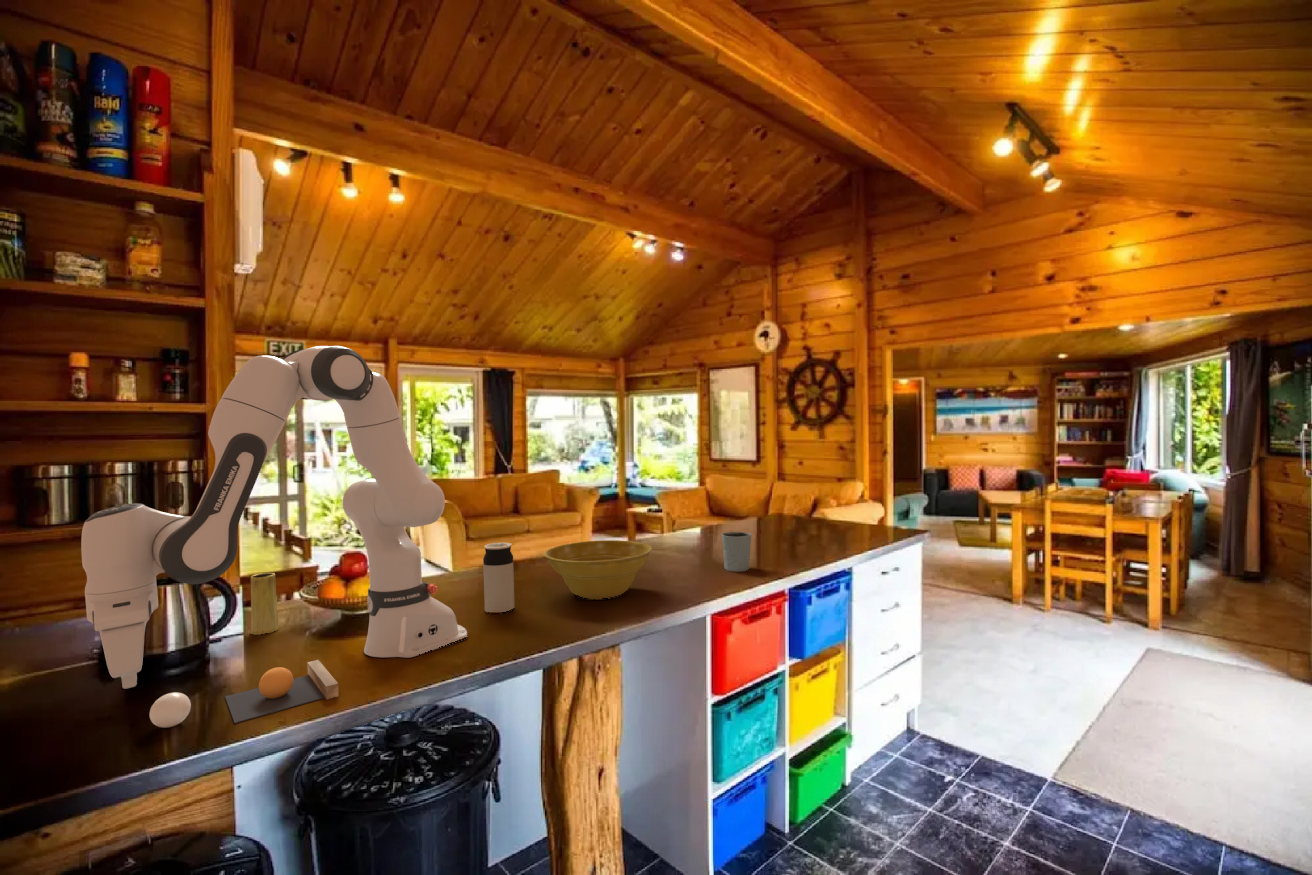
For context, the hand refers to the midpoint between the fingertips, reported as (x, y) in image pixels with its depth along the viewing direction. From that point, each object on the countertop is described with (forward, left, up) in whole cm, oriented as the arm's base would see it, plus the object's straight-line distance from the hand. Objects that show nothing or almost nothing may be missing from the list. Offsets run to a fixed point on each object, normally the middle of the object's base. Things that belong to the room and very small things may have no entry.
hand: (129, 684), depth 99 cm
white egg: (-5, +1, -6) cm, 8 cm away
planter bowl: (-105, -12, -9) cm, 106 cm away
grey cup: (-157, -3, -9) cm, 157 cm away
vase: (-25, -46, -9) cm, 54 cm away
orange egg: (-21, +1, -6) cm, 21 cm away
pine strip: (-28, +1, -8) cm, 30 cm away
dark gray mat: (-20, +1, -8) cm, 22 cm away
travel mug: (-76, -19, -9) cm, 79 cm away
